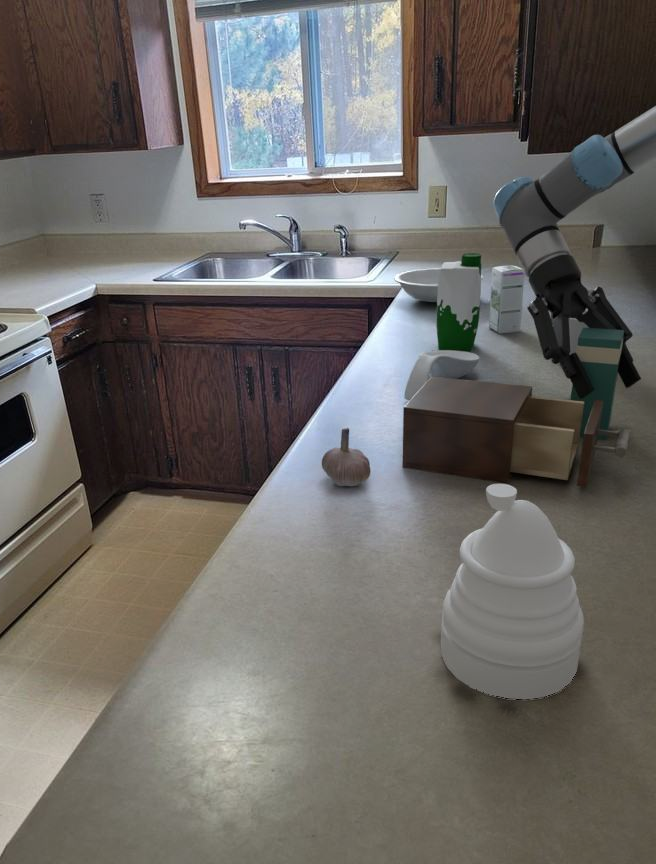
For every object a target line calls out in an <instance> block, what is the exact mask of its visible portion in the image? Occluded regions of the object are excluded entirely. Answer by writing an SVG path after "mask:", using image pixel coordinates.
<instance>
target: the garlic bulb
mask: <svg viewBox="0 0 656 864" xmlns="http://www.w3.org/2000/svg"><path fill="white" fill-rule="evenodd" d="M340 434H341V435H340V438H341V440H340V447H333V448H331V449H329V450H327V451H326V452H325V453H324V454H323V456H322V459H321V468H322V470H323V471H324V473H325V474H326V475H327V476H328V477H329V478H330V479H331V480H332V482H333V484H335V485H336V486H338V487H357V486H359V485H360V484H361V483H364V482H365V481H367V480H368V479H370V476H371V465H370V461H369V460H370V459H369V458H368V457H367V456H366V455H365V454H364V453H363V451H362V450H360V449H359V448H358V449H357V448H352V447H349V445H350V428H349V427H346V428H342V429H341V433H340Z"/></svg>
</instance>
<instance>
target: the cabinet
mask: <svg viewBox="0 0 656 864" xmlns="http://www.w3.org/2000/svg"><path fill="white" fill-rule="evenodd" d="M529 396H533V386H532V385H524V384H514V383H513V384H512V383H503V382H494V381H493V382H492V381H484V380H483V381H481V380H471V379H461V378H457V379H453V378H443V377H433V376H431V377H429V380H428V382H427V383H426V384H425V385H424V386H423V387H422V388H421V389H420V390H419V391H418V392H417V393H416V394H415V396H414V397H413V398H412V399H411V400H408V402H407V403H406V404H405V405H404V406H403V412H402V413H403V414H402V415H403V417H402V419H403V420H402V421H403V422H402V462H401V463H402V464H401V465H402V466H401V467H402V468H405V469H412V470H418V471H425V472H430V473H436V474H437V473H438V474H444V475H450V476H451V475H452V476H456V477H457V476H458V477H464V478H471V479H477V480H483V481H490V482H496V483H502V484H509V482H510V480H511V478H512V476H513V474H514V472H510V466H511V455H512V444H513V433H514V423H515V421H516V419H517V418H518V416H519V414H520V412H521V410H522V408H523V407H524V405H525V403H526V401H527V399H528V397H529Z"/></svg>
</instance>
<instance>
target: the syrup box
mask: <svg viewBox="0 0 656 864" xmlns="http://www.w3.org/2000/svg"><path fill="white" fill-rule="evenodd" d="M491 271H492V272H491V285H490V304H489V320H488V321H489V323H488V328H489V329H490V330H492V331H493V332H495V333H497V334H511V333H520V332H521V326H522V325H521V324H522V313H523V312H522V311H523V299H524V286H525V285H524V283H525V272H524V270H523V268H522V267H519V266H516V265H499V266H494V267H492V270H491Z"/></svg>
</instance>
